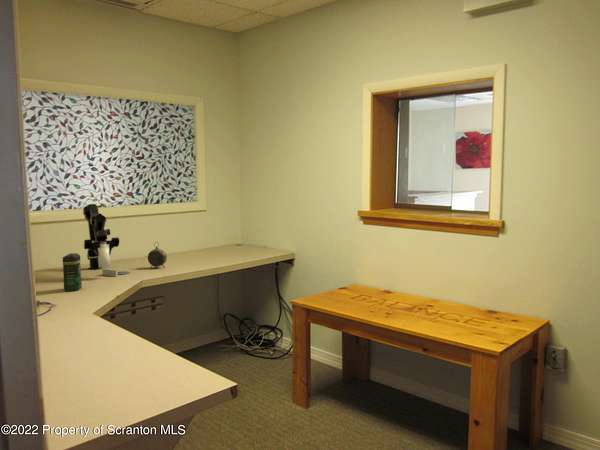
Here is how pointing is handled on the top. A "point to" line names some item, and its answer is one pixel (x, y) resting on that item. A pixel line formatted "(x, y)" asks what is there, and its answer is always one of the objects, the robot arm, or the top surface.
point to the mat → (123, 272)
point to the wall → (110, 272)
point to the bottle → (103, 256)
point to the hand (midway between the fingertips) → (104, 254)
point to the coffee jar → (72, 272)
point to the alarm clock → (157, 257)
